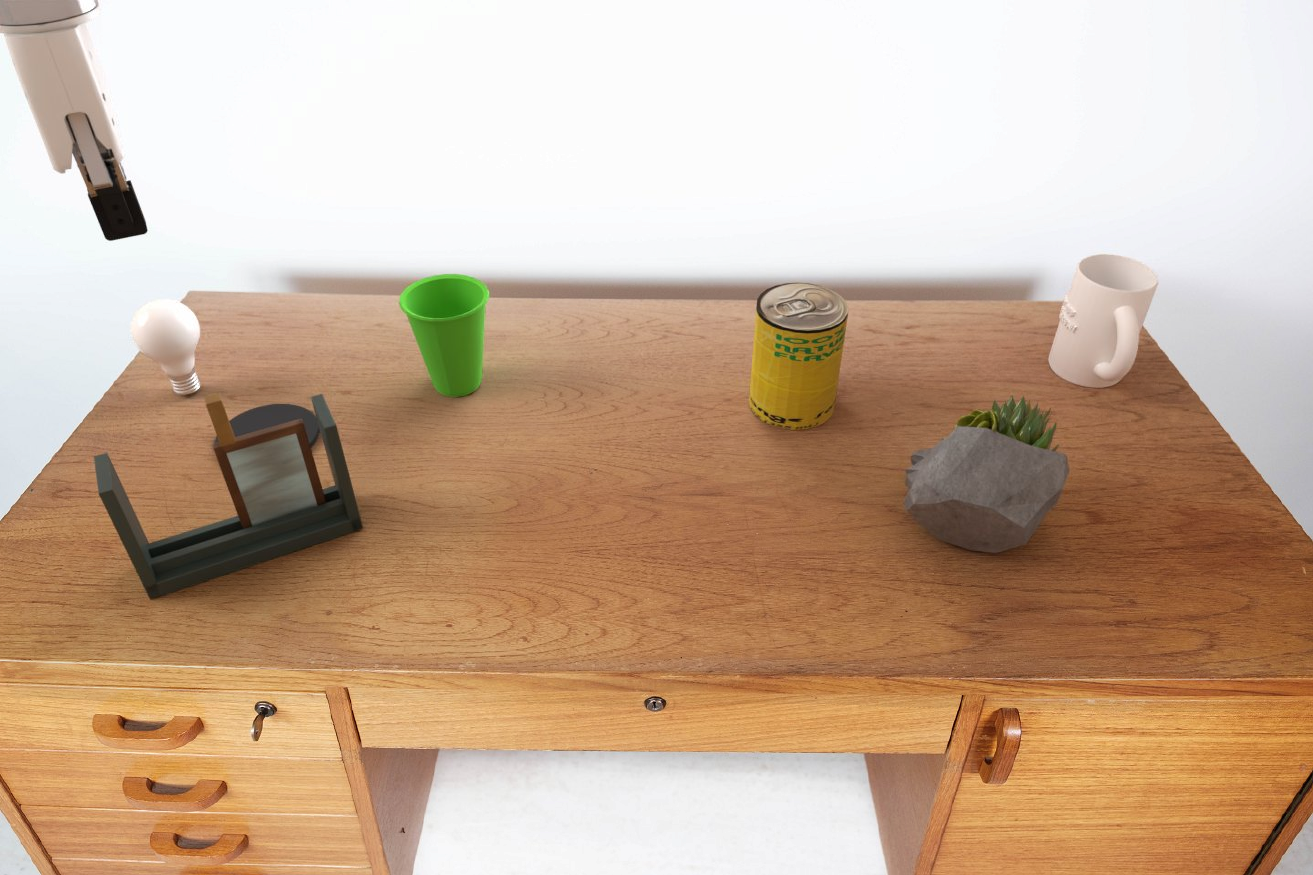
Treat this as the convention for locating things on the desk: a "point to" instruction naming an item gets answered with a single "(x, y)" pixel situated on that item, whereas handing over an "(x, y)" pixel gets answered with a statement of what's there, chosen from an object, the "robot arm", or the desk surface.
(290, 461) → the window sash
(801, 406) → the beverage can
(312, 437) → the coaster
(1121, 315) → the mug
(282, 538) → the window frame
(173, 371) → the lightbulb
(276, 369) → the desk surface
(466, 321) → the cup
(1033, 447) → the potted plant
